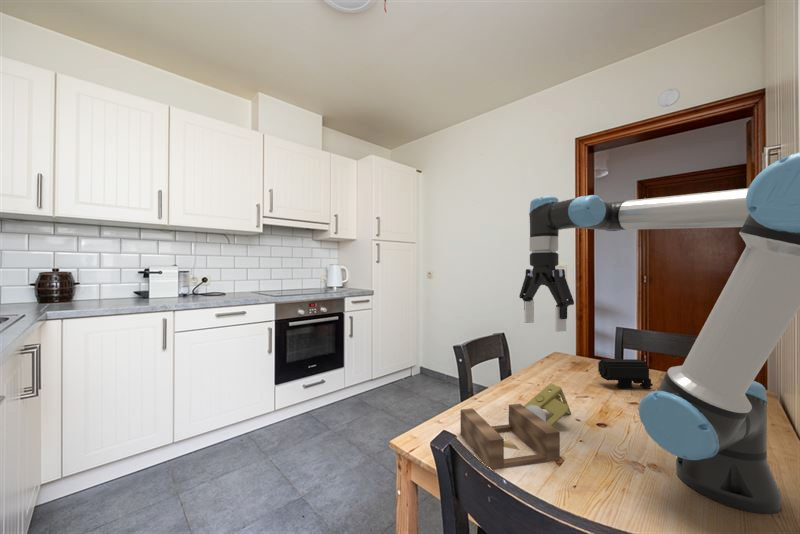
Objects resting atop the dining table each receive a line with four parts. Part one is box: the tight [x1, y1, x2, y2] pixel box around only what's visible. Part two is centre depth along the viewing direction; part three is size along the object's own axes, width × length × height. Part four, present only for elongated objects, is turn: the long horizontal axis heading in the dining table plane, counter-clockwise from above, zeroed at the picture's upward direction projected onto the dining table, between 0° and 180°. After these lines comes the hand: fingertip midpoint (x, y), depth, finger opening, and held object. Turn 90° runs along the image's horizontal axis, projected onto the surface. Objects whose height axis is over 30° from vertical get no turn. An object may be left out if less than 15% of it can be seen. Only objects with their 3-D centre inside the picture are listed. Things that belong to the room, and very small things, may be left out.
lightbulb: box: [525, 405, 547, 422], centre depth 86 cm, size 6×6×11 cm
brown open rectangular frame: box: [460, 403, 561, 471], centre depth 80 cm, size 16×18×7 cm
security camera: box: [597, 358, 654, 389], centre depth 123 cm, size 7×18×10 cm, turn 89°
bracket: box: [523, 383, 572, 427], centre depth 95 cm, size 10×14×10 cm
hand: (543, 326), depth 91 cm, fingers open, 13 cm apart
